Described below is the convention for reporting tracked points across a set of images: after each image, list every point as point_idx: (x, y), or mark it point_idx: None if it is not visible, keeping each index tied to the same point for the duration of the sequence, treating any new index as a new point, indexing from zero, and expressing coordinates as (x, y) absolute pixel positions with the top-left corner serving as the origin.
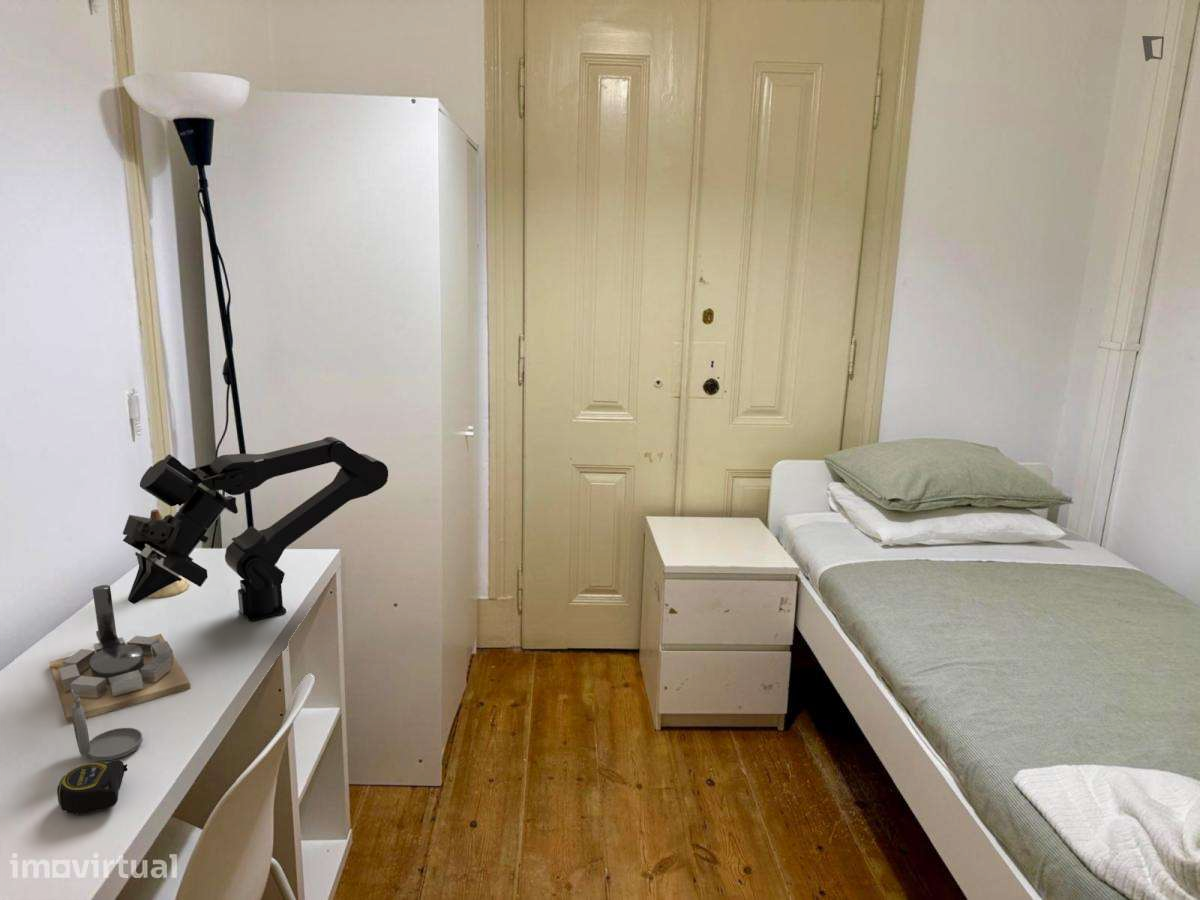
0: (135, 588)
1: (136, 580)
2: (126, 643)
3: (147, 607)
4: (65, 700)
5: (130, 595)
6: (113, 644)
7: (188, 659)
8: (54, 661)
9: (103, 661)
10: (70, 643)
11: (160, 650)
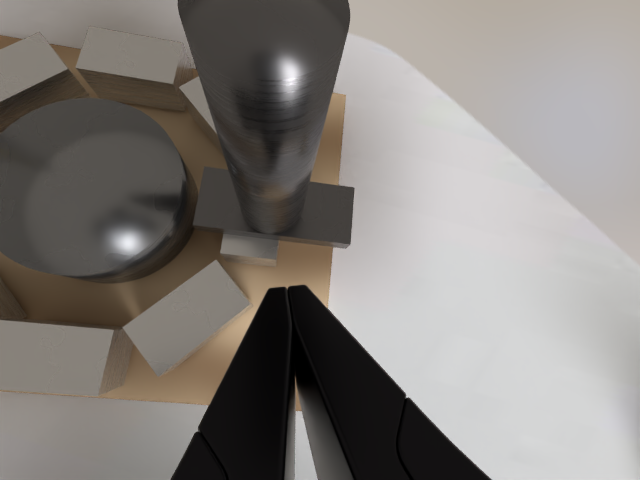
0: (284, 353)
1: (363, 402)
2: (320, 289)
3: (596, 439)
4: (71, 55)
5: (295, 304)
6: (199, 203)
7: (83, 441)
8: (337, 104)
9: (71, 132)
10: (455, 181)
11: (25, 344)
